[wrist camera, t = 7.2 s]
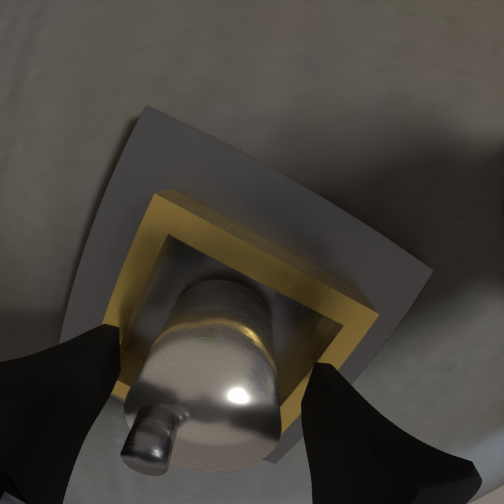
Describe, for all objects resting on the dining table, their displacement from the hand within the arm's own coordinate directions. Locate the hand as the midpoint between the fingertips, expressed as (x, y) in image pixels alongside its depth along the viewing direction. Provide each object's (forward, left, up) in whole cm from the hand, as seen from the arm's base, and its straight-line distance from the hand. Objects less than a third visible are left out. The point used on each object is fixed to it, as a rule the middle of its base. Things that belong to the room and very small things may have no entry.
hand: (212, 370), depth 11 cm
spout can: (0, 0, -3) cm, 3 cm away
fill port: (0, 0, -4) cm, 4 cm away
